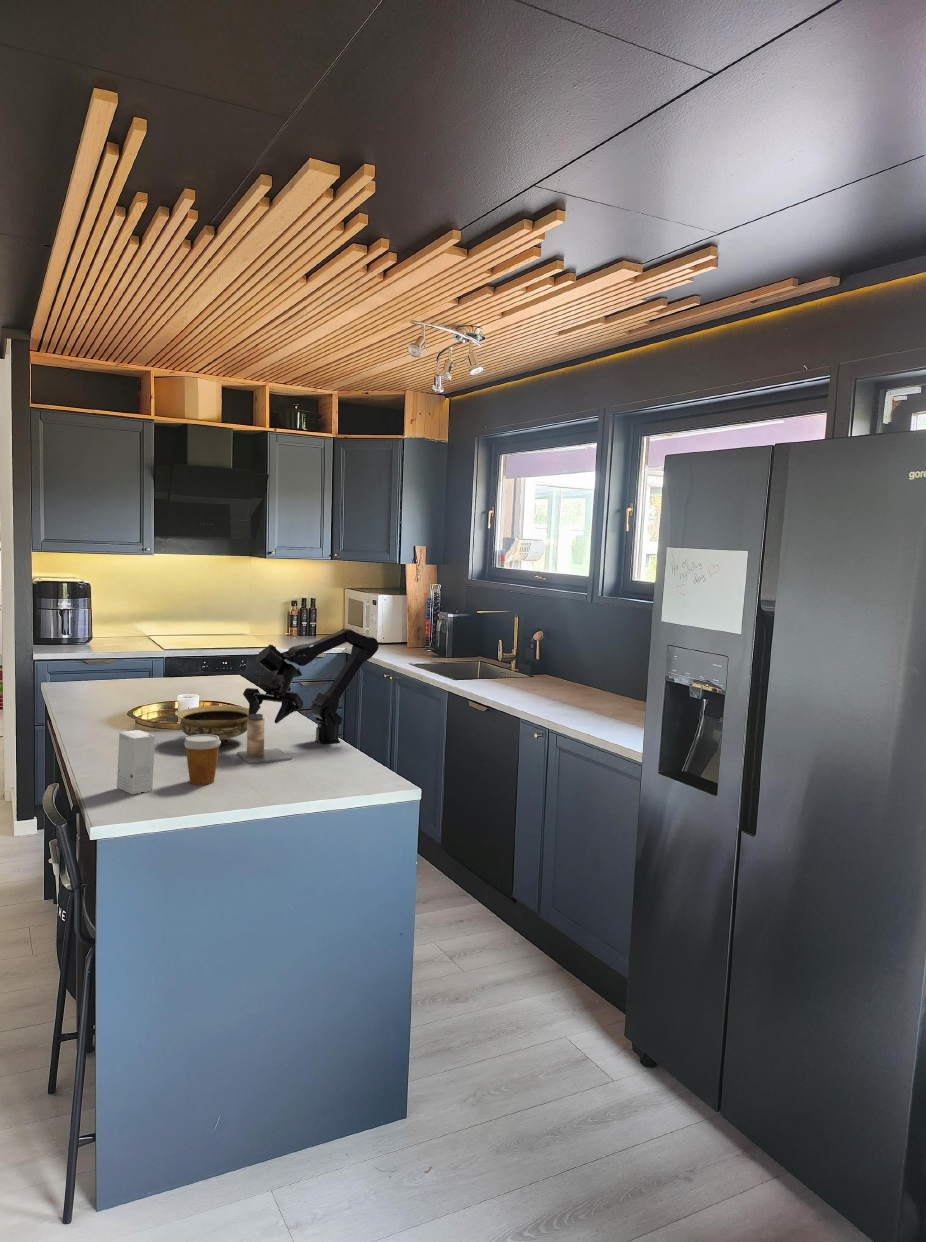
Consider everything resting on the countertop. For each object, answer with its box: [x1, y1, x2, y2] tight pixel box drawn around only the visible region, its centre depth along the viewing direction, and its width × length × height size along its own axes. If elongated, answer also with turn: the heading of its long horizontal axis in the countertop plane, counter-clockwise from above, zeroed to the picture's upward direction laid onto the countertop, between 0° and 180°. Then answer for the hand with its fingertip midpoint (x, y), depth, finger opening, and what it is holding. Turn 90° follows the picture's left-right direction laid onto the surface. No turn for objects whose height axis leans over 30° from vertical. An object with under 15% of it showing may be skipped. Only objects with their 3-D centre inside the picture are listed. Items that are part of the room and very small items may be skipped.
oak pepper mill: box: [246, 713, 265, 758], centre depth 252 cm, size 5×5×12 cm
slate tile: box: [236, 747, 293, 765], centre depth 254 cm, size 13×13×1 cm
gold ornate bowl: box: [176, 705, 249, 746], centre depth 269 cm, size 30×24×10 cm
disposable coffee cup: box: [183, 734, 221, 786], centre depth 225 cm, size 10×10×12 cm
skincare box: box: [116, 729, 156, 795], centre depth 215 cm, size 8×6×15 cm
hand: (262, 721), depth 254 cm, fingers open, 9 cm apart
